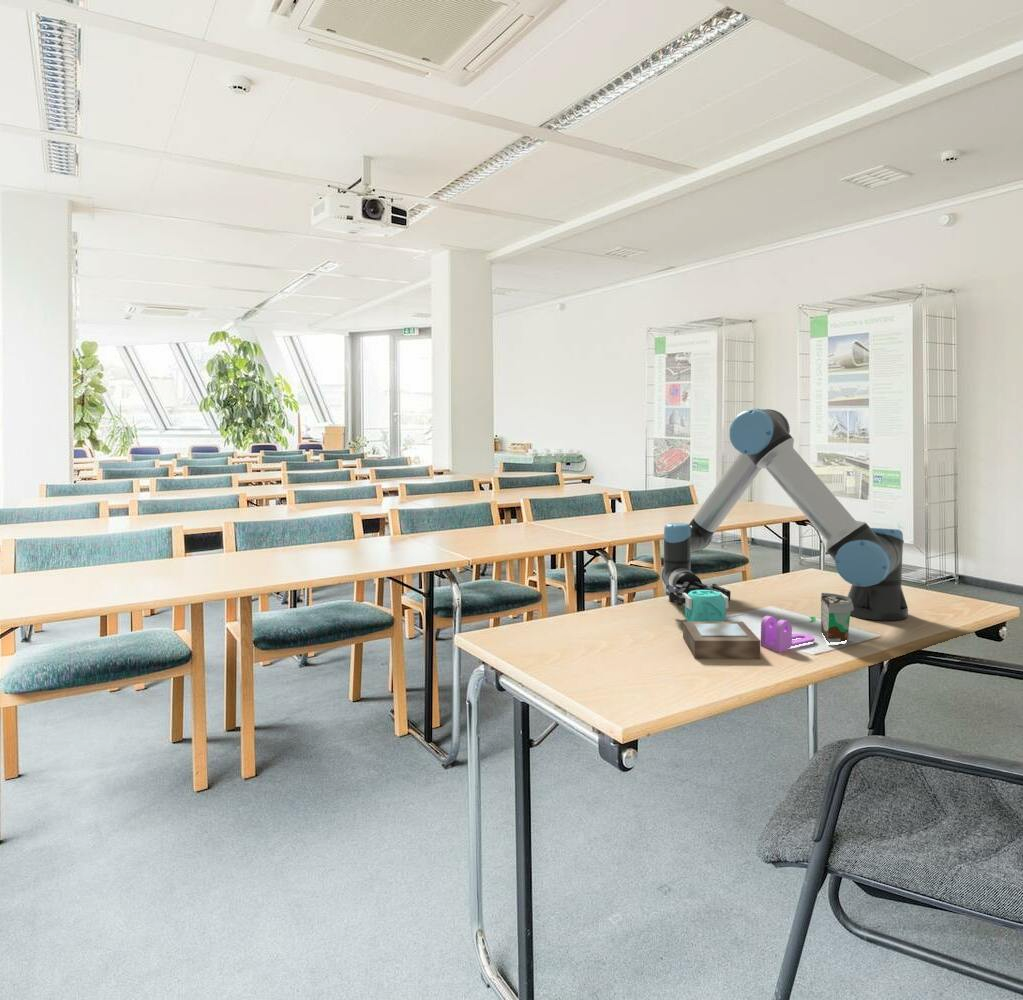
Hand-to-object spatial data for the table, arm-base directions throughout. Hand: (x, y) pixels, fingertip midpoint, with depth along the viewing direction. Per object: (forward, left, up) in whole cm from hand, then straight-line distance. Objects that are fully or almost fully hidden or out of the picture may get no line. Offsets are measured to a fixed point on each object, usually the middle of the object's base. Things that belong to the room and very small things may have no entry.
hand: (708, 603), depth 187 cm
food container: (-28, +9, -7) cm, 30 cm away
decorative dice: (0, -3, -6) cm, 7 cm away
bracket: (-16, +12, -7) cm, 21 cm away
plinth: (0, +15, -7) cm, 16 cm away
